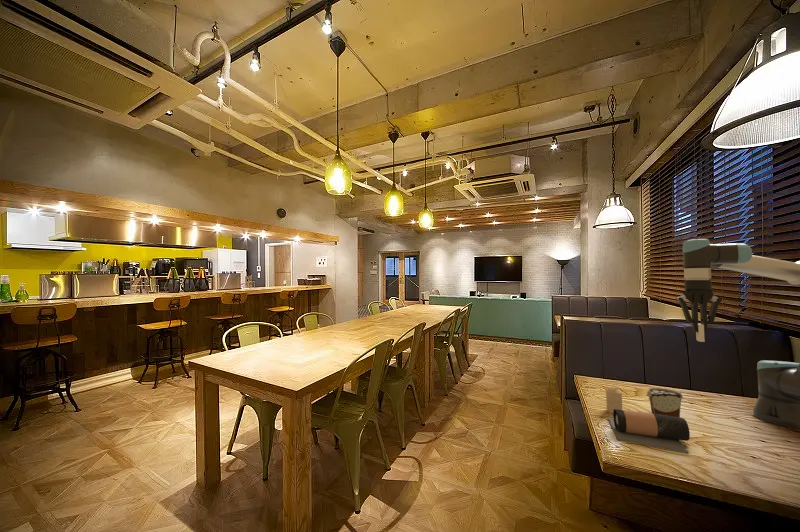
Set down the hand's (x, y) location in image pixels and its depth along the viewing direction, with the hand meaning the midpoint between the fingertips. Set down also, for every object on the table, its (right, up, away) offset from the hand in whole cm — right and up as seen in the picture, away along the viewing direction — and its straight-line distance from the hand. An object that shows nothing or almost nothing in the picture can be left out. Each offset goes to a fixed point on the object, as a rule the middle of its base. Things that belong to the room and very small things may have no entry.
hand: (700, 341), depth 118 cm
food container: (-7, -33, +10) cm, 35 cm away
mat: (-27, -32, -6) cm, 42 cm away
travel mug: (-17, -28, -12) cm, 34 cm away
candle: (-24, -33, +13) cm, 43 cm away
